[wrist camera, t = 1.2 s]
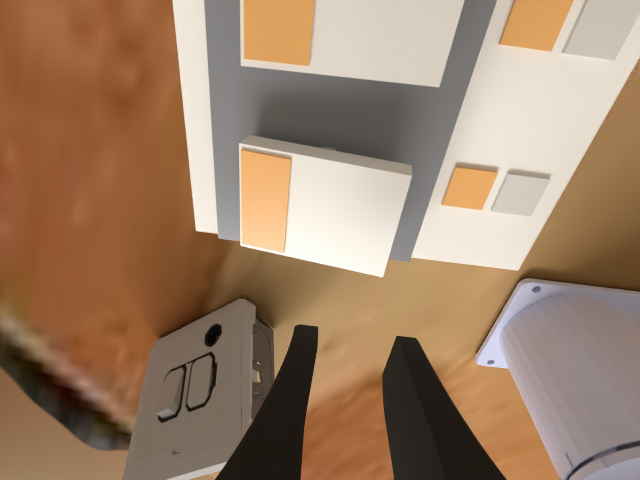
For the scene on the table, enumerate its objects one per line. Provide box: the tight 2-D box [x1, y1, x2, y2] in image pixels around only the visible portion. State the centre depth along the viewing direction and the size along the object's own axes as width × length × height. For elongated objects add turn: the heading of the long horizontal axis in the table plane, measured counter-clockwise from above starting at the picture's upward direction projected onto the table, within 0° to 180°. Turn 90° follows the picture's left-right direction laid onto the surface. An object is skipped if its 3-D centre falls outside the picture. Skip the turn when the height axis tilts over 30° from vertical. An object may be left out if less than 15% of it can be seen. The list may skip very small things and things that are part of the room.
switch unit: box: [173, 0, 640, 270], centre depth 14 cm, size 18×16×4 cm
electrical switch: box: [122, 299, 275, 480], centre depth 22 cm, size 9×5×9 cm, turn 124°
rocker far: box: [239, 135, 412, 277], centre depth 13 cm, size 6×4×1 cm
